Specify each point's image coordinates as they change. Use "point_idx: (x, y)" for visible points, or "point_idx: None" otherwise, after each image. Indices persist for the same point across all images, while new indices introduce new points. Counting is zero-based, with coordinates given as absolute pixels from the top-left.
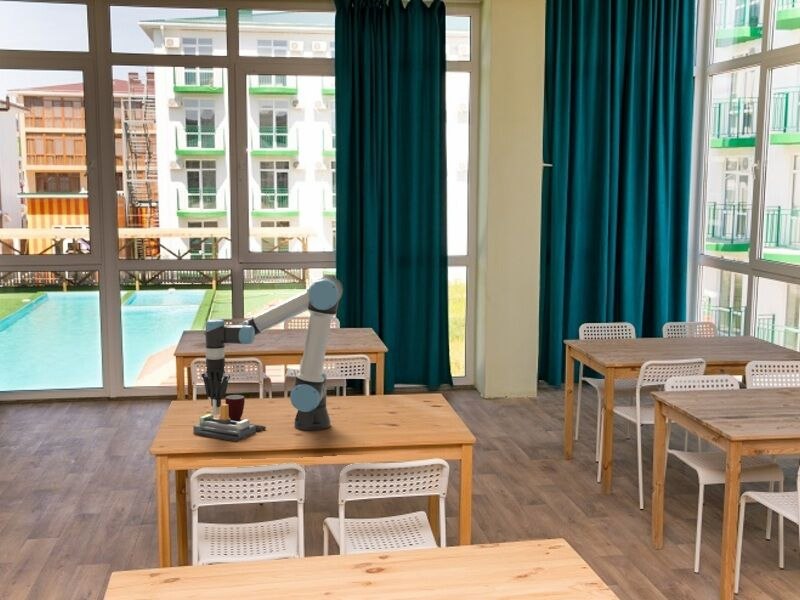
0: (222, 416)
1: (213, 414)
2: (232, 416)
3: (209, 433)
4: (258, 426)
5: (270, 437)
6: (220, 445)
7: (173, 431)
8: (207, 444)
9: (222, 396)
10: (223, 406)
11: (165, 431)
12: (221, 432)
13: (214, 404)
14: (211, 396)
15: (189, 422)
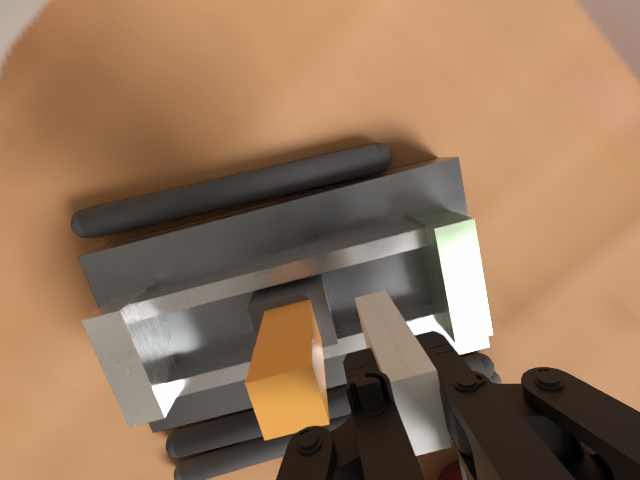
0: (287, 316)
1: (379, 293)
2: (459, 476)
3: (287, 167)
4: (210, 463)
5: (36, 400)
6: (81, 93)
7: (570, 94)
8: (159, 47)
9: (289, 473)
10: (266, 370)
11: (613, 56)
12: (219, 217)
13: (389, 343)
14: (476, 393)
15: (632, 289)
